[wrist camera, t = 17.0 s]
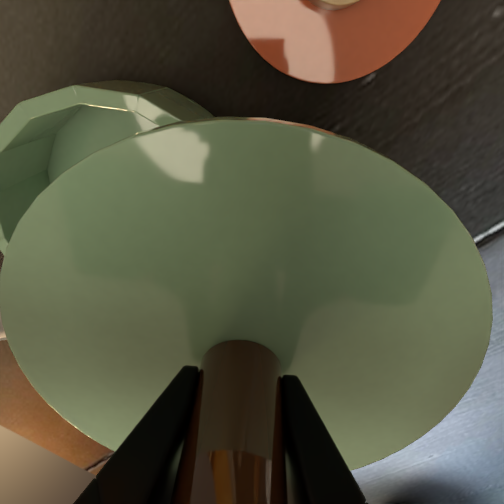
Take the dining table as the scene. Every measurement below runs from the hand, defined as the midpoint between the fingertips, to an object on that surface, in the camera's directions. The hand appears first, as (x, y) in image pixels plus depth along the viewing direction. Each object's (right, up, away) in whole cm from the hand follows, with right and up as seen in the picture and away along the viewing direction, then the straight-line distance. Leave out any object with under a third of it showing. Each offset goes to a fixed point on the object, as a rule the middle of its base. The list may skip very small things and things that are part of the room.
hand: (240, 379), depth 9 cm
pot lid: (0, 0, +1) cm, 1 cm away
